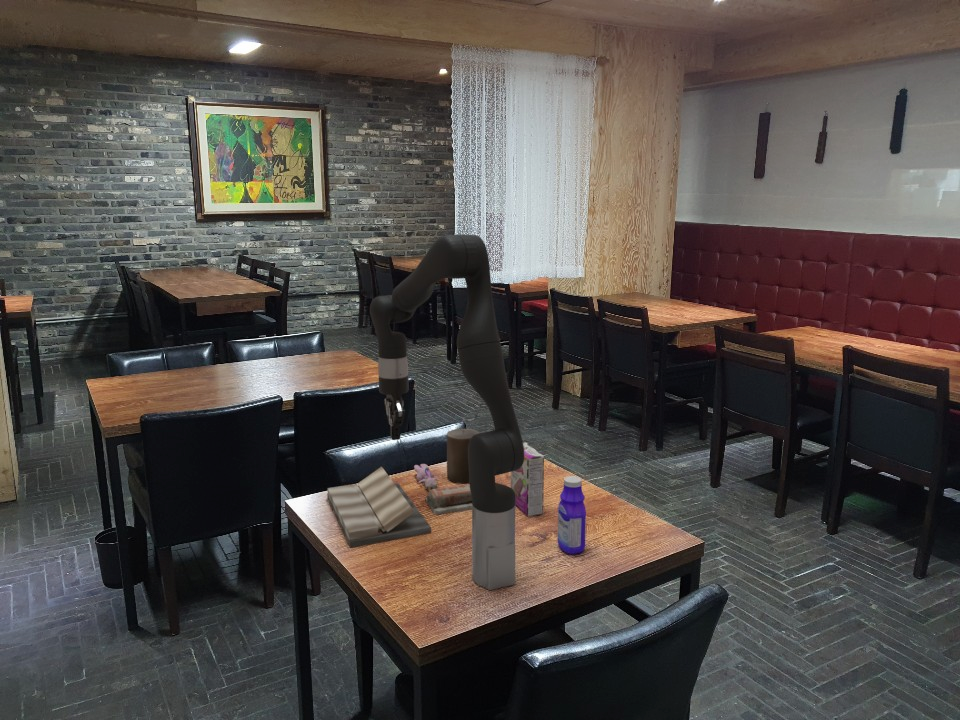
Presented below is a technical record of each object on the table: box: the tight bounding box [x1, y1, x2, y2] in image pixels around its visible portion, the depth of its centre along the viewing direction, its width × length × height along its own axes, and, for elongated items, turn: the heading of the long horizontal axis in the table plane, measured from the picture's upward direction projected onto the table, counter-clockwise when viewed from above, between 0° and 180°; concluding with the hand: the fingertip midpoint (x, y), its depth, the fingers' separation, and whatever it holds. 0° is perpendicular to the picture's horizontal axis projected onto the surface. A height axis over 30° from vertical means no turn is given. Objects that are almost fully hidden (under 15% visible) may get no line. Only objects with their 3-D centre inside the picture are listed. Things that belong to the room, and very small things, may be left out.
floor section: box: [326, 482, 432, 549], centre depth 181 cm, size 30×20×4 cm, turn 22°
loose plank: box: [357, 466, 414, 532], centre depth 181 cm, size 28×9×2 cm
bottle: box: [557, 475, 587, 555], centre depth 162 cm, size 7×6×17 cm
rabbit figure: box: [413, 463, 440, 492], centre depth 201 cm, size 6×6×15 cm
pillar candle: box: [446, 428, 480, 484], centre depth 204 cm, size 10×10×15 cm
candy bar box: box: [510, 442, 545, 518], centre depth 184 cm, size 11×5×16 cm, turn 22°
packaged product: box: [424, 484, 472, 516], centre depth 188 cm, size 18×5×10 cm
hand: (395, 438), depth 180 cm, fingers closed
